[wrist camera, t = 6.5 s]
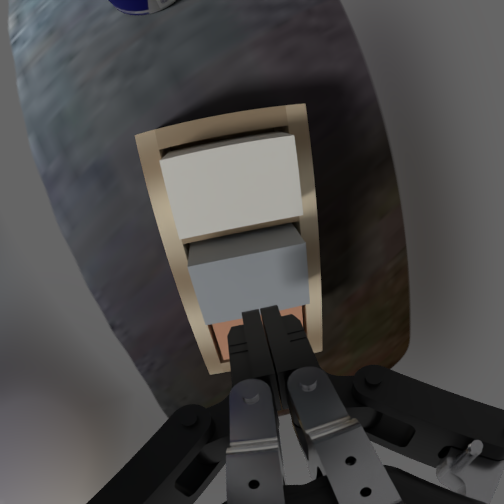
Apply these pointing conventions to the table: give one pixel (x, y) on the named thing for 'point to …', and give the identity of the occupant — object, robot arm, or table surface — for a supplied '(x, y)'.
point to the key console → (222, 128)
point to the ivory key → (233, 183)
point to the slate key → (249, 272)
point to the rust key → (224, 327)
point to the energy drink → (141, 6)
